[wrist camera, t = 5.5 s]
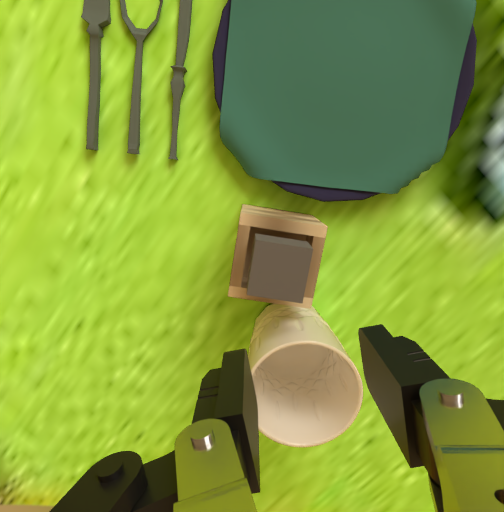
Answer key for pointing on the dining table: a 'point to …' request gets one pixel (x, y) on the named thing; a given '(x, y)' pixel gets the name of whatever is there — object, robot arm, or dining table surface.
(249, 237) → the button box
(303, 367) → the tan cylinder
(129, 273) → the dining table surface
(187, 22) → the cutlery set
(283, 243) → the button cap
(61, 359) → the dining table surface
